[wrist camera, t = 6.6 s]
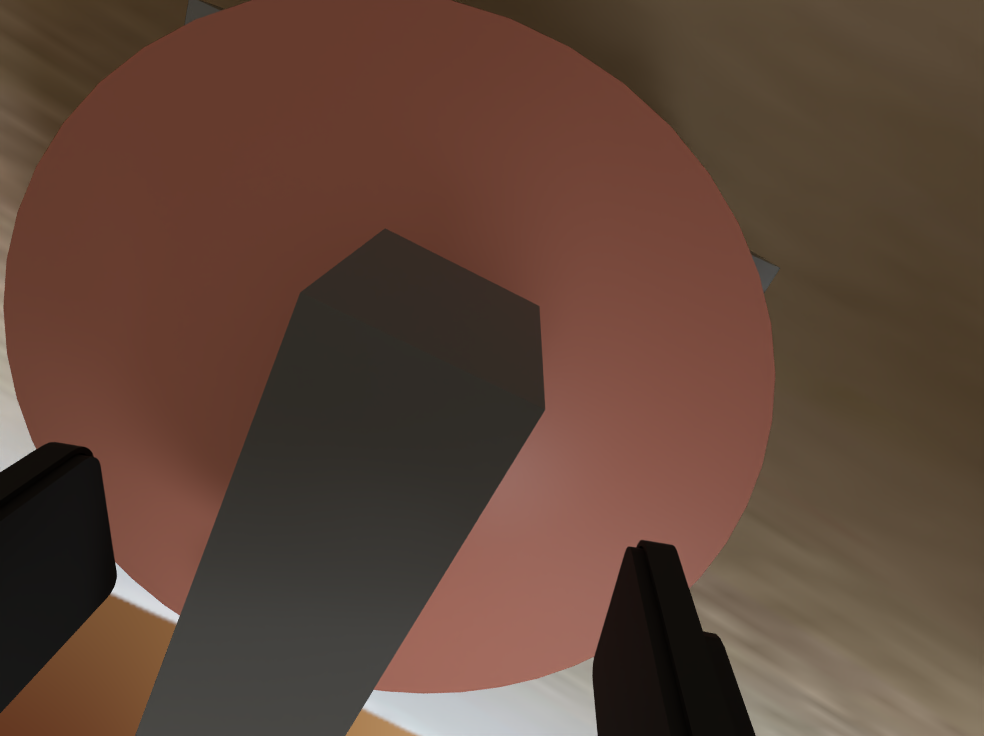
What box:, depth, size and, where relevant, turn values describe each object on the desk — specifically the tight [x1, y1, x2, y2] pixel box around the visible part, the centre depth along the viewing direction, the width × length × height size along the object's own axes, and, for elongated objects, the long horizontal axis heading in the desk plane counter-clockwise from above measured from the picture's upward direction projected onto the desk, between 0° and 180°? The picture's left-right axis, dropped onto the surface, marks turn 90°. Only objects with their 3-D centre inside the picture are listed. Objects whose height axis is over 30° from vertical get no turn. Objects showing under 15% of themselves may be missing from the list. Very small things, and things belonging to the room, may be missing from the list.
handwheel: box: [4, 0, 775, 736], centre depth 12 cm, size 18×18×7 cm
